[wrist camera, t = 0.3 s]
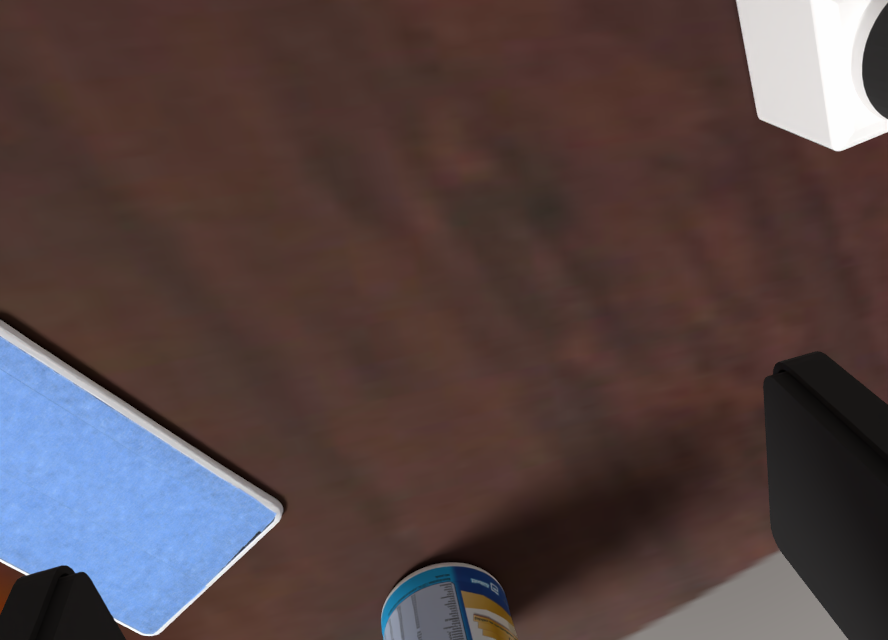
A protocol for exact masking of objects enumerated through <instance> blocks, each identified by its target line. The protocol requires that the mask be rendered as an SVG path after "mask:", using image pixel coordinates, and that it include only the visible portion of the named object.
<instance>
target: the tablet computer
mask: <svg viewBox="0 0 888 640" xmlns="http://www.w3.org/2000/svg"><path fill="white" fill-rule="evenodd" d="M282 513H283V506H282V504H281V503H280V502H279V501H278V500H277V499H276V498H274V497H272V496H271V495H269V494H268V493H266V492H264V491H263V490H261V489H259V488H258V487H256V486H255V485H253V484H251V483H250V482H248V481H247V480H245V479H243V478H242V477H240V476H239V475H237V474H235V473H234V472H232V471H231V470H229V469H227V468H226V467H224V466H223V465H221V464H219V463H218V462H216V461H215V460H213V459H212V458H210V457H209V456H207V455H206V454H204V453H203V452H201V451H199V450H198V449H196V448H195V447H193V446H192V445H190V444H189V443H187V442H186V441H184V440H182V439H181V438H179V437H178V436H176V435H175V434H173V433H172V432H170V431H169V430H167V429H166V428H164V427H162V426H161V425H159V424H158V423H156V422H155V421H153V420H152V419H150V418H149V417H147V416H146V415H144V414H143V413H141V412H140V411H138V410H137V409H135V408H134V407H132V406H131V405H129V404H128V403H126V402H125V401H123V400H121V399H120V398H118V397H117V396H115V395H114V394H112V393H111V392H109V391H108V390H106V389H104V388H103V387H101V386H100V385H98V384H97V383H95V382H94V381H92V380H91V379H89V378H87V377H86V376H84V375H83V374H81V373H80V372H78V371H77V370H75V369H74V368H72V367H71V366H69V365H68V364H66V363H65V362H63V361H62V360H60V359H59V358H57V357H56V356H54V355H53V354H51V353H50V352H48V351H47V350H45V349H43V348H42V347H40V346H39V345H37V344H36V343H34V342H33V341H31V340H30V339H28V338H27V337H25V336H24V335H23V334H21V333H20V332H18V331H17V330H15V329H14V328H12V327H11V326H9V325H8V324H6V323H5V322H3V321H2V320H0V562H2V563H4V564H6V565H8V566H10V567H12V568H14V569H16V570H17V571H19V572H21V573H23V574H25V575H30V574H33V573H37V572H40V571H44V570H47V569H51V568H54V567H58V566H61V565H67V566H69V567H70V568H72V569H73V571H74V572H75V573H78V572H85V573H86V574H87V575H88V576H89V577H90V579H91V580H92V582H93V584H94V585H95V587H96V589H97V591H98V592H99V594H100V596H101V597H102V599H103V601H104V603H105V604H106V606H107V608H108V610H109V611H110V613H111V615H112V616H113V618H114V620H115V621H116V622H118V623H120V624H121V625H123V626H125V627H128V628H129V629H131V630H133V631H135V632H137V633H139V634H141V635H145V636H153V635H157V634H159V633H160V632H162V631H163V630H164V629H165V628H166V627H167V626H168V625H169V624H170V623H171V622H172V621H174V620H175V619H176V618H177V617H178V616H179V615H180V614H181V613H182V612H183V611H184V610H185V609H186V608H187V607H188V606H189V605H190V604H192V603H193V602H194V601H195V600H196V599H197V598H198V597H199V596H200V595H201V594H202V593H203V592H205V591H206V590H207V589H208V588H209V587H210V586H211V585H212V584H213V583H214V582H215V581H216V580H217V579H218V578H219V577H220V576H222V575H223V574H224V573H225V572H226V571H227V570H228V569H229V568H230V567H231V566H232V565H233V564H234V563H236V562H237V561H238V560H239V559H240V558H241V557H242V556H243V555H244V554H245V553H246V552H247V551H248V550H249V549H250V548H252V547H253V546H254V545H255V544H256V543H257V542H258V541H259V540H260V539H261V538H262V537H263V536H264V535H265V534H266V533H268V532H269V531H270V530H271V529H272V528H273V527H274V526H275V525H276V524H277V523H278V522H279V521H280V519H281V516H282Z"/></svg>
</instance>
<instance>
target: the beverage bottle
mask: <svg viewBox="0 0 888 640" xmlns="http://www.w3.org/2000/svg"><path fill="white" fill-rule="evenodd" d="M381 625H382V634H383V639H384V640H518V638H517V635H516V632H515V628H514V625H513V622H512V619H511V615H510V611H509V606H508V602H507V599H506V596H505V593H504V591H503V589H502V587H501V585H500V584H499V582H498V581H497V580H496V579H495V578H494V577H493V576H492V575H491V574H489V573H488V572H486V571H485V570H483V569H481V568H479V567H476V566H473V565H470V564H465V563H457V562H447V563H439V564H434V565H430V566H427V567H424V568H421V569H419V570H417V571H415V572H413V573H411V574H410V575H408V576H407V577H405V578H404V579H403V580H401V581H400V582H399V583H398V584H397V585H396V586H395V587H394V588H393V590H392V591H391V592H390V594H389V595H388V597H387V599H386V601H385V603H384V606H383V610H382V615H381Z"/></svg>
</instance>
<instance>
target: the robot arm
mask: <svg viewBox="0 0 888 640" xmlns="http://www.w3.org/2000/svg"><path fill="white" fill-rule="evenodd" d="M763 389H764V408H765V427H766V446H767V466H768V485H769V504H770V523H771V530H772V533H773V537H774V539H775V542H776V544H777V546H778V548H779V549H780V551H781V552H782V554H783V555H784V556H785V558H786V559H787V560H788V561H789V563H790V564H791V565H792V567H793V568H794V569H795V570H796V572H797V573H798V574H799V576H800V577H801V578H802V580H803V581H804V582H805V584H806V585H807V586H808V587H809V589H810V590H811V591H812V593H813V594H814V595H815V597H816V598H817V599H818V600H819V602H820V603H821V604H822V606H823V607H824V608H825V610H826V611H827V612H828V613H829V615H830V616H831V617H832V619H833V620H834V621H835V623H836V624H837V625H838V626H839V628H840V629H841V630H842V632H843V633H844V634H845V636H846V637H847V638H848V639H849V640H888V405H887V404H886V403H885V402H884V401H882V400H881V399H880V398H879V397H877V396H876V395H875V394H874V393H873V392H871V391H870V390H869V389H868V388H866V387H865V386H864V385H863V384H861V383H860V382H859V381H858V380H856V379H855V378H854V377H853V376H852V375H850V374H849V373H848V372H847V371H845V370H844V369H843V368H842V367H840V366H839V365H838V364H837V363H836V362H834V361H833V360H832V359H831V358H829V357H828V356H827V355H825V354H824V353H822V352H812V353H809V354H805V355H802V356H798V357H795V358H791V359H788V360H784V361H781V362H778V363H777V364H775V367H774V369H773V375H771V376H767V377H766V378H765V380H764V386H763ZM0 640H126V639H125V637H124V635H123V634H122V632H121V630H120V629H119V627H118V625H117V623H116V622H115V620H114V618H113V616H112V615H111V613H110V611H109V610H108V608H107V606H106V604H105V603H104V601H103V599H102V597H101V596H100V594H99V592H98V591H97V589H96V587H95V585H94V584H93V582H92V580H91V579H90V577H89V576H88V575H87V574H86V573H85V572H78V573H75V572H74V571H73V569H72V568H70V567H69V566H67V565H61V566H58V567H54V568H51V569H47V570H44V571H40V572H37V573H33V574H30V575H26V576H23V577H21V578H19V579H18V580H17V581H16V582H15V584H14V585H13V588H12V590H11V592H10V594H9V597H8V599H7V601H6V603H5V606H4V608H3V610H2V612H1V615H0Z"/></svg>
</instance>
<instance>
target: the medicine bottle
mask: <svg viewBox="0 0 888 640" xmlns="http://www.w3.org/2000/svg"><path fill="white" fill-rule="evenodd" d="M736 3H737V8H738V14H739V19H740V25H741V30H742V35H743V41H744V46H745V52H746V57H747V62H748V68H749V73H750V79H751V84H752V89H753V95H754V100H755V106H756V111H757V116H758V117H759V119H760V120H762V121H765V122H767V123H769V124H772V125H774V126H777V127H779V128H781V129H784V130H786V131H789V132H791V133H793V134H796V135H798V136H801V137H803V138H806V139H808V140H810V141H813V142H815V143H818V144H820V145H822V146H825V147H827V148H830V149H832V150H834V151H842V150H845V149H847V148H850V147H852V146H855V145H857V144H860V143H862V142H864V141H867V140H869V139H872V138H874V137H877V136H879V135H881V134H884V133H886V132H888V0H736Z"/></svg>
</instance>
